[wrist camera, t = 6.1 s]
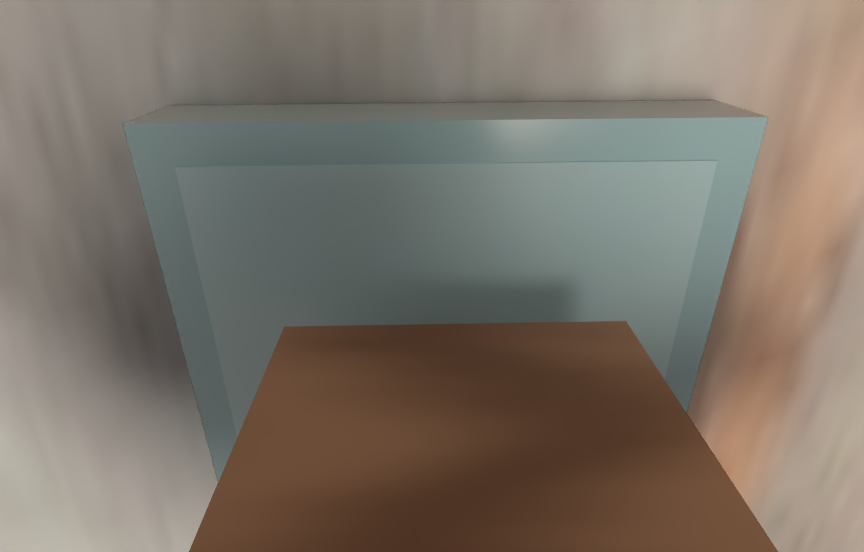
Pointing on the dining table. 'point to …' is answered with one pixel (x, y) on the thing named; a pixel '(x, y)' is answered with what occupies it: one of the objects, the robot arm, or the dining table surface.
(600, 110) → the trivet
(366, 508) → the walnut cube
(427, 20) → the dining table surface
